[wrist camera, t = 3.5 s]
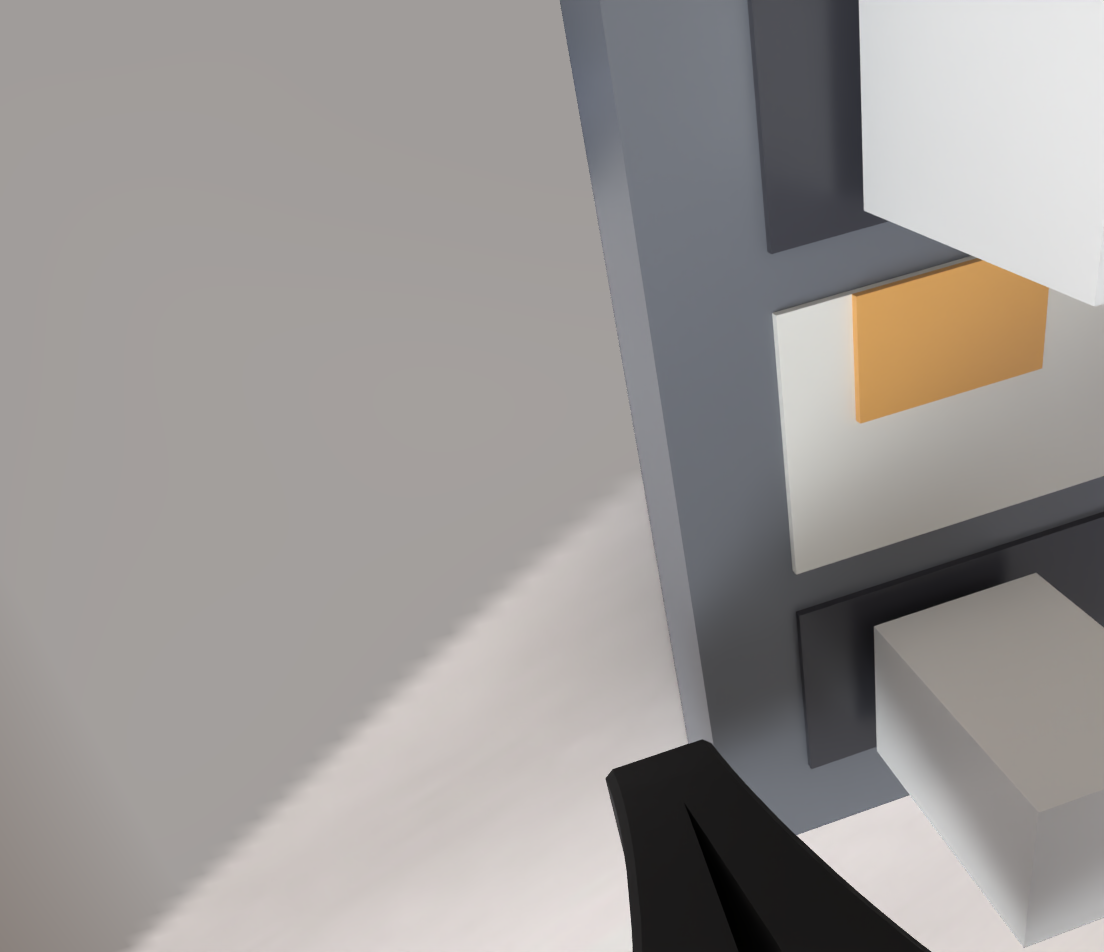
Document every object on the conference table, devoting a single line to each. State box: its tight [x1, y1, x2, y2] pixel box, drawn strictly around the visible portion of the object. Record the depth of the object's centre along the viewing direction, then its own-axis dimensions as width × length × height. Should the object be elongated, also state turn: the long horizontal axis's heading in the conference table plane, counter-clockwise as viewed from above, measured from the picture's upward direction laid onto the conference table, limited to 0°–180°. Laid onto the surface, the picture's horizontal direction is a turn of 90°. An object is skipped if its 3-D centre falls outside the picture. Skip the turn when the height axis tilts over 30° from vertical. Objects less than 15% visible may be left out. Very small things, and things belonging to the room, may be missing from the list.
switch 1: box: [859, 0, 1104, 307], centre depth 8 cm, size 2×2×3 cm
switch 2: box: [874, 573, 1104, 948], centre depth 12 cm, size 2×2×3 cm
